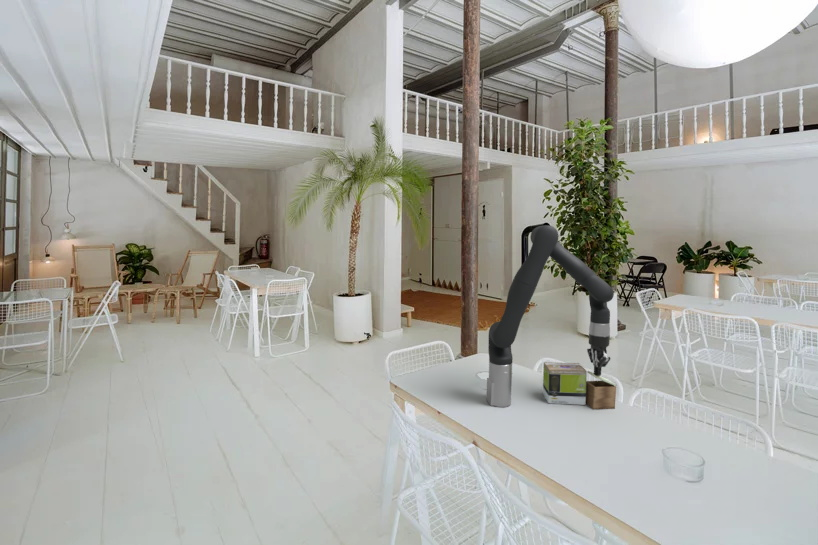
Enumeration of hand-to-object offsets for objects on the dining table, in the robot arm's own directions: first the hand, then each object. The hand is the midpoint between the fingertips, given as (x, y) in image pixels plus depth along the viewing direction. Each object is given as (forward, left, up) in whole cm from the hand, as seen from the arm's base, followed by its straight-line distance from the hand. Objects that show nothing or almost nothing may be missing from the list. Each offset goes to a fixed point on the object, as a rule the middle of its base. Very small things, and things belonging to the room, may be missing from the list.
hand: (597, 375), depth 164 cm
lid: (+2, 0, -2) cm, 3 cm away
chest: (+2, 0, -13) cm, 13 cm away
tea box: (-10, +7, -13) cm, 18 cm away
